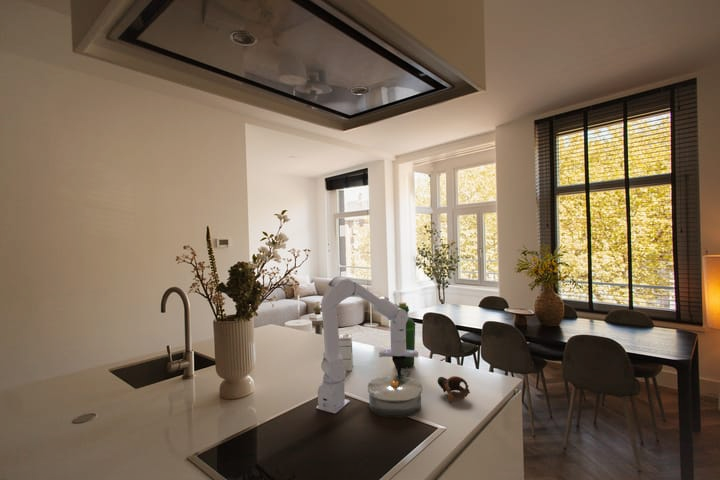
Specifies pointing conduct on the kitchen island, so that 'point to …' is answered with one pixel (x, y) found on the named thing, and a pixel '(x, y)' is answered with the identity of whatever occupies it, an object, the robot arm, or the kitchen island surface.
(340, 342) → the syrup box
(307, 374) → the kitchen island surface
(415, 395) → the cooker lid
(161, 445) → the kitchen island surface
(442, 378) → the pottery mug
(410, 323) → the bottle
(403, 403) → the cooker pot
